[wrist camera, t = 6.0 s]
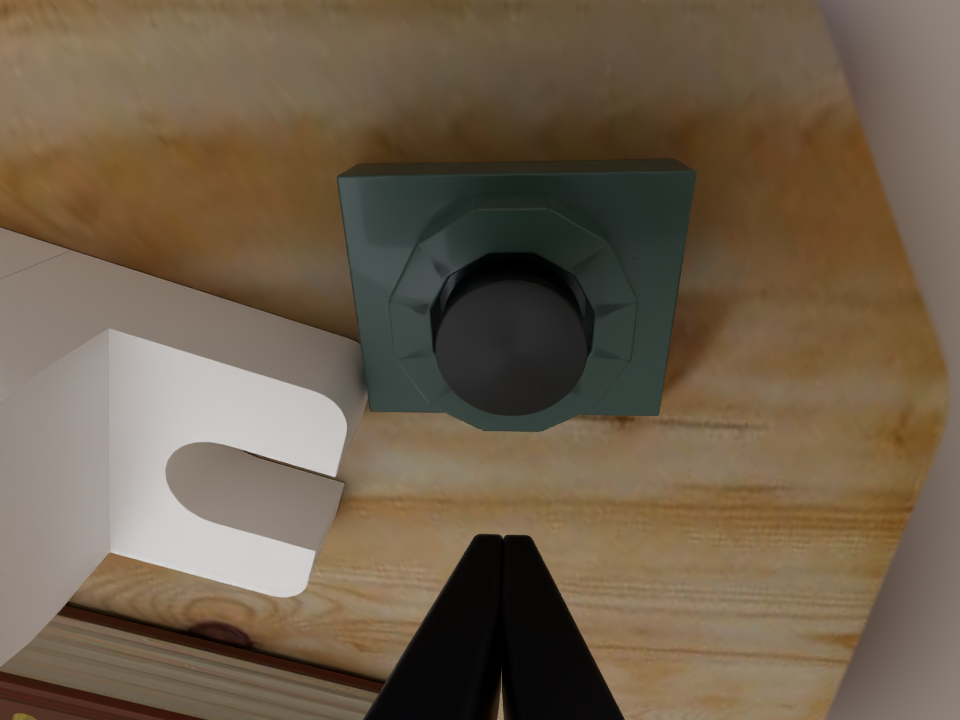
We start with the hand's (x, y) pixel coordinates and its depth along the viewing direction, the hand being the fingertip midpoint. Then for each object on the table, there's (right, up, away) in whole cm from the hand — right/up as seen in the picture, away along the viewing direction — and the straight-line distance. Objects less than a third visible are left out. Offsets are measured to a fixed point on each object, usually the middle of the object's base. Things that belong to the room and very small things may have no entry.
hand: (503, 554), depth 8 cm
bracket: (-15, +2, +14) cm, 20 cm away
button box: (+1, +6, +11) cm, 12 cm away
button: (+1, +4, +7) cm, 8 cm away
